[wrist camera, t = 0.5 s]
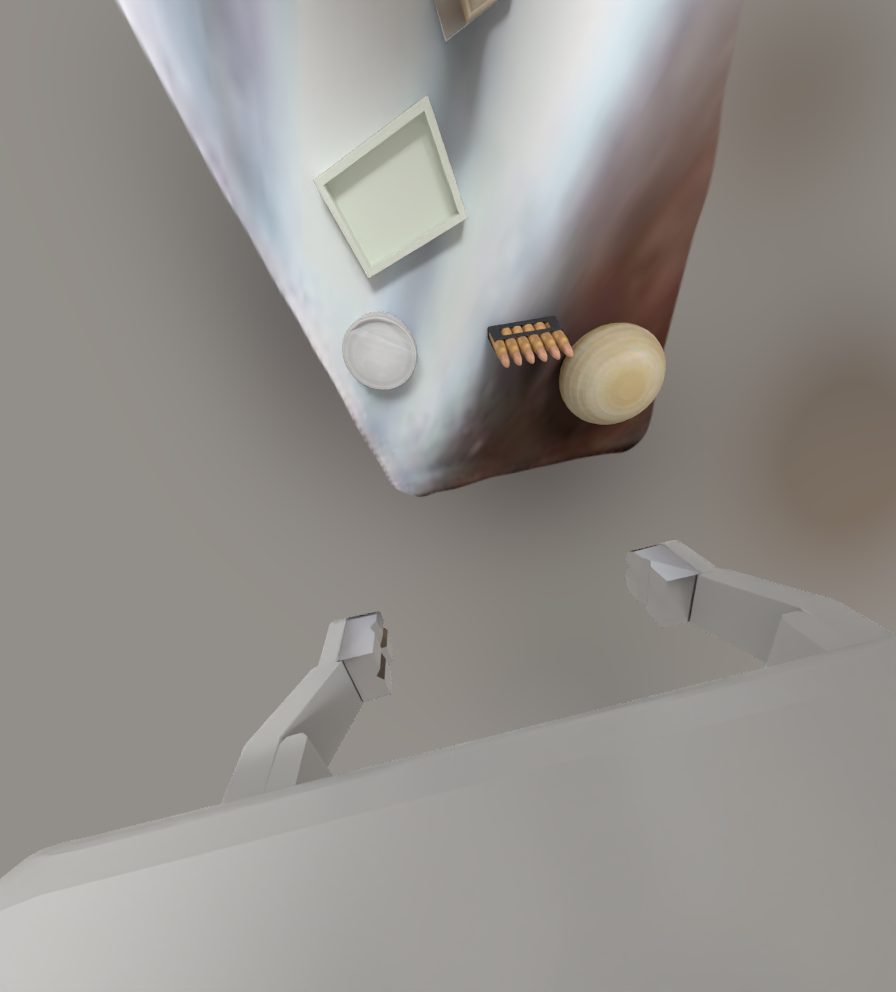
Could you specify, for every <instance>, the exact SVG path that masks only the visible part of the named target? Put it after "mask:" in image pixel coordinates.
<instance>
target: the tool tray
mask: <svg viewBox="0 0 896 992" xmlns="http://www.w3.org/2000/svg"><path fill="white" fill-rule="evenodd" d="M313 181H314V183H315V185H316V187H317V188H318V190H319V192H320V194H321V195H322V197H323V199H324V201H325V203H326V204H327V206H328V208H329V210H330V211H331V213H332V215H333V217H334V218H335V220H336V222H337V224H338V226H339V227H340V229H341V231H342V233H343V234H344V236H345V238H346V240H347V241H348V243H349V245H350V247H351V249H352V250H353V252H354V254H355V256H356V257H357V259H358V261H359V263H360V264H361V266H362V268H363V270H364V271H365V273H366V275H367V277H368V279H369V278H370V277H372V276H374V275H375V274H377V273H379V272H380V271H382V270H383V269H385V268H387V267H388V266H390V265H392V264H393V263H395V262H397V261H398V260H400V259H401V258H403V257H405V256H406V255H408V254H410V253H411V252H413V251H414V250H416V249H418V248H419V247H421V246H423V245H424V244H426V243H428V242H429V241H431V240H432V239H434V238H436V237H437V236H439V235H441V234H442V233H444V232H446V231H447V230H449V229H450V228H452V227H454V226H455V225H457V224H459V223H460V222H462V221H464V220H465V219H467V218H468V217H467V214H466V211H465V208H464V205H463V202H462V199H461V196H460V193H459V190H458V187H457V183H456V180H455V177H454V174H453V171H452V168H451V165H450V162H449V159H448V156H447V153H446V150H445V147H444V143H443V140H442V137H441V134H440V131H439V128H438V125H437V122H436V119H435V116H434V113H433V110H432V107H431V103H430V100H429V97H428V94H427V95H426V96H425V97H423V98H422V99H421V100H419V101H418V102H417V103H415V104H414V105H413V106H411V107H410V108H409V109H407V110H406V111H405V112H403V113H402V114H401V115H399V116H398V117H397V118H395V119H394V120H393V121H391V122H390V123H389V124H387V125H386V126H385V127H383V128H382V129H381V130H379V131H378V132H377V133H376V134H374V135H373V136H372V137H370V138H369V139H368V140H366V141H365V142H364V143H362V144H361V145H360V146H358V147H357V148H356V149H354V150H353V151H352V152H350V153H349V154H348V155H346V156H345V157H344V158H342V159H341V160H340V161H338V162H337V163H336V164H334V165H333V166H332V167H330V168H329V169H328V170H326V171H325V172H324V173H322V174H321V175H320V176H318V177H317V178H316V179H314V180H313Z"/></svg>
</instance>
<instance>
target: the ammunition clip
mask: <svg viewBox="0 0 896 992" xmlns="http://www.w3.org/2000/svg"><path fill="white" fill-rule="evenodd" d="M561 330H562V331H563V328H562V327H561V325H560V324H559V322H558V320H557V319H556V317H555V316H551V317H545V318H539V319H533V320H527V321H521V322H515V323H509V324H503V325H497V326H491V327H488V339H489V341H490V343H491V345H492V347H493V349H494V351H495V352H496V354H497V356H498V358H499V359H500V361H501V363H502V364H503V366H504V367H506V368H508V367H509V364H510V362H509V357H508V353H509V355H510V356H511V357H512V359H513V360H514V362H515V363H516V364H517V365H518V366H521V365H522V357H521V355H520V351H521V353H522V354H523V355H524V357H525V358H526V360H527V361H528V362H529V363H531V364H534V361H535V358H534V354H533V351H534V352H535V353H536V354H537V355H538V357H539V358H540V359H541V360H542V361H544V362H546V361H547V353H546V351H545V349H546V350H547V351H548V352H549V353H550V354H551V356H552V357H554V358H555V359H557V360H559V359H560V352H559V349H558V348H560V349H561V350H562V351H563V353H564V354H565V355H567V356H568V357H571V358H572V357H573V350H572V348H571V346H570V344H569V342H568V339H567V337H566V336H565V335H564V333H563V332H562V331H561ZM556 345H557V346H556ZM544 348H545V349H544ZM532 350H533V351H532ZM507 351H508V352H507Z"/></svg>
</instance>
